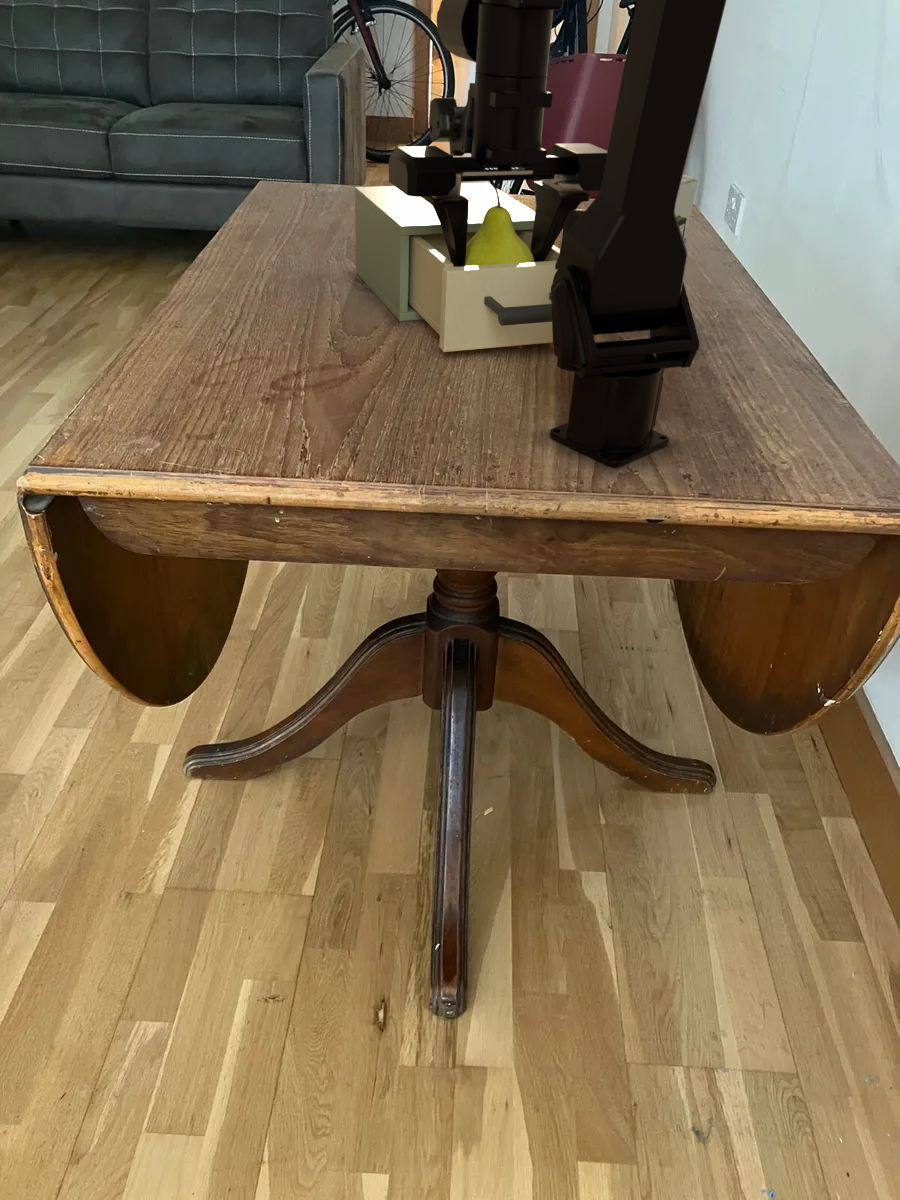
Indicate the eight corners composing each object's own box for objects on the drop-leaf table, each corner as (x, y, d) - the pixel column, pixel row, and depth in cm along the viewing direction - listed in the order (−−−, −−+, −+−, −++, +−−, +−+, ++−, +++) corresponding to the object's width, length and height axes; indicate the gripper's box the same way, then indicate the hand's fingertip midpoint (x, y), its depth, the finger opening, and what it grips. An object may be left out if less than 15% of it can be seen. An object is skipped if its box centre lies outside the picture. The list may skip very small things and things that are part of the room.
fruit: (531, 302, 88) (544, 163, 81) (530, 326, 83) (545, 180, 76) (457, 296, 88) (465, 158, 82) (452, 320, 83) (459, 174, 76)
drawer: (609, 359, 81) (621, 279, 77) (463, 374, 76) (468, 290, 73) (519, 290, 95) (526, 219, 91) (393, 298, 91) (394, 225, 87)
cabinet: (540, 310, 93) (549, 219, 88) (399, 321, 89) (400, 226, 84) (482, 265, 105) (487, 182, 100) (355, 272, 100) (354, 186, 95)
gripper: (572, 62, 83) (553, 244, 92) (369, 60, 78) (370, 254, 87) (633, 79, 75) (606, 277, 84) (411, 78, 69) (407, 290, 78)
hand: (496, 273), depth 84 cm, fingers closed on fruit, 7 cm apart
